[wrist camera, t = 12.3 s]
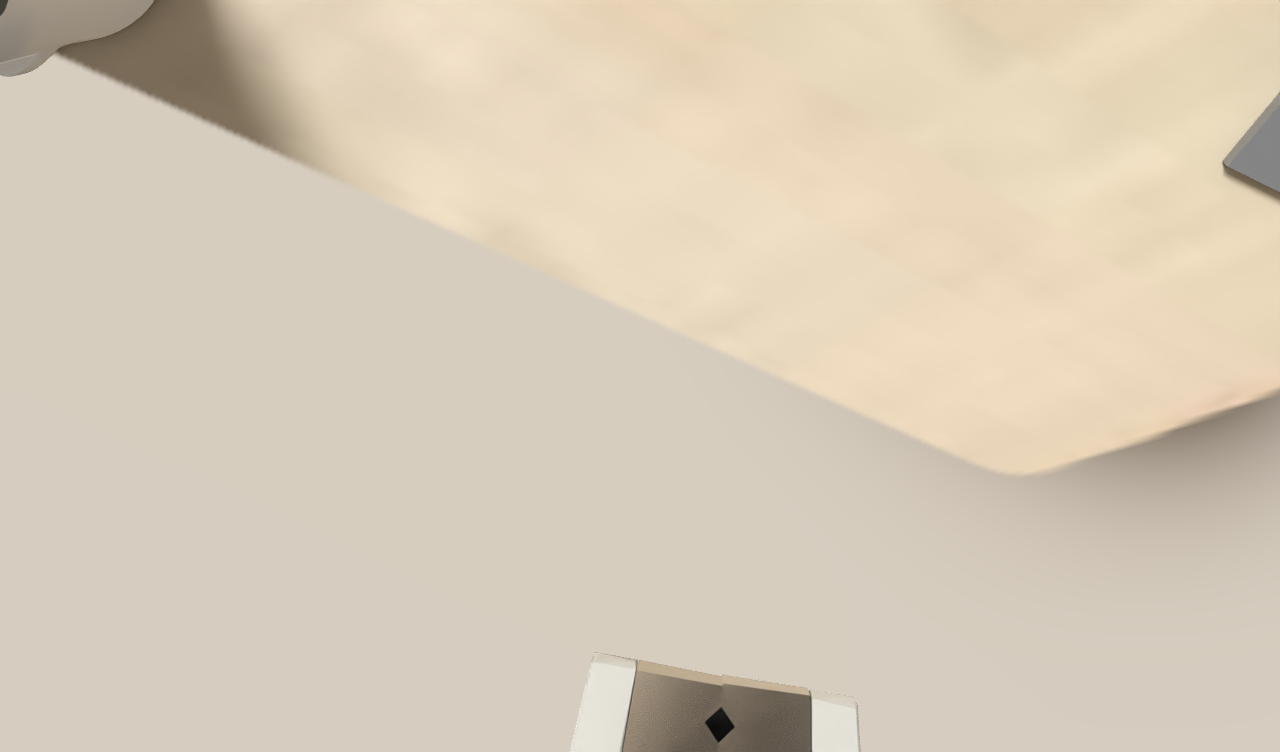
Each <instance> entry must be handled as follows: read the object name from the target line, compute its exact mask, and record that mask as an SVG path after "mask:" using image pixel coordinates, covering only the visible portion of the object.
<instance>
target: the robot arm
mask: <svg viewBox="0 0 1280 752" xmlns="http://www.w3.org/2000/svg"><path fill="white" fill-rule="evenodd" d="M154 1H155V0H0V75H3V76H15V75H20V74H24V73H28V72H31V71H33V70H34V69H36V68H38V67H39V66H40V65H41V64H43V63H44V62H45V61H46V60H47V59H48V58H49V57H50V56H52V55H53V54H54V53H55V52H56V51H57V50H58V49H59V48H60V47H62V46H65V45H68V44H72V43H76V42H82V41H87V40H93V39H98V38H102V37H105V36H108V35H111V34H114V33H116V32H118V31H120V30H122V29H124V28H126V27H127V26H129V25H130V24H132V23H133V22H135V21H136V20H137V19H138V18H139V17H141V16H142V15H143V14H144V13H145V12H146V11H147V10H148V8H149V7H150V6H151V5H152V3H153V2H154ZM637 665H638V667H637ZM570 752H860V736H859V720H858V705H857V703H856V701H855V699H854V697H851V696H846V695H840V694H834V693H828V692H822V691H815V690H809V691H808V689H807V688H803V687H797V686H791V685H785V684H778V683H772V682H765V681H758V680H752V679H746V678H740V677H733V676H726V675H722V676H717V675H712V674H707V673H702V672H697V671H692V670H687V669H682V668H677V667H672V666H667V665H661V664H656V663H652V662H646V661H641V660H639V662H638V660H635V659H630V658H624V657H619V656H613V655H608V654H602V653H597V652H596V653H595V654H594V656H593V659H592V661H591V663H590V667H589V672H588V676H587V680H586V685H585V689H584V693H583V697H582V702H581V707H580V710H579V715H578V719H577V723H576V728H575V732H574V737H573V741H572V746H571V749H570Z"/></svg>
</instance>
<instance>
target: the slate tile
mask: <svg viewBox="0 0 1280 752" xmlns="http://www.w3.org/2000/svg"><path fill="white" fill-rule="evenodd" d="M1223 163H1224V164H1225V165H1226V166H1227V167H1229V168H1231V169H1233V170H1235V171H1237V172H1239V173H1241V174H1243V175H1245V176H1247V177H1250V178H1252V179H1254V180H1256V181H1258V182H1260V183H1262V184H1264V185H1266V186H1268V187H1270V188H1272V189H1274V190H1276V191H1278V192H1280V93H1279V94H1278V95H1277V97H1276V98H1275V99H1274V100H1273V101H1272V103H1271V104H1270V105H1269V106H1268V107H1267V109H1266V110H1265V111H1264V112H1263V113H1262V115H1261V116H1260V117H1259V118H1258V120H1257V121H1256V122H1255V123H1254V124H1253V126H1252V127H1251V128H1250V129H1249V130H1248V132H1247V133H1246V134H1245V135H1244V136H1243V138H1242V139H1241V140H1240V141H1239V142H1238V144H1237V145H1236V146H1235V147H1234V148H1233V150H1232V151H1231V152H1230V153H1229V155H1228V156H1227V157H1226V158H1225V159H1224V161H1223Z"/></svg>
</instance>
